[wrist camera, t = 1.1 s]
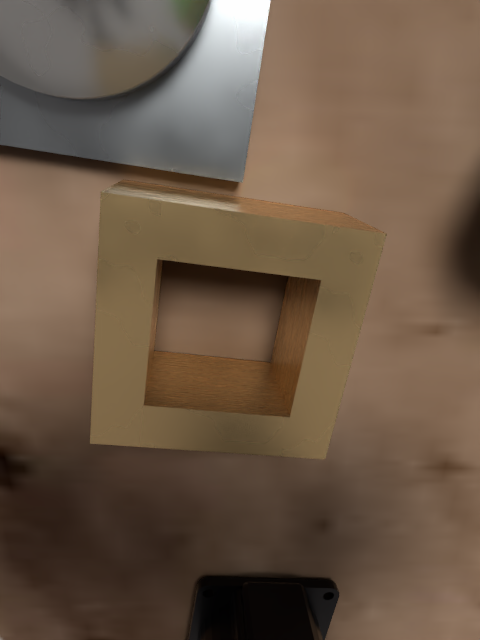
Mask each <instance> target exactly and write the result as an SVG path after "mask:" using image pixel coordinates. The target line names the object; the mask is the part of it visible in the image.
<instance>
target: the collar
mask: <svg viewBox="0 0 480 640" xmlns="http://www.w3.org/2000/svg"><path fill="white" fill-rule="evenodd" d="M386 235H387V234H386V233H384V232H382V231H380V230H378V229H376V228H374V227H372V226H370V225H368V224H365V223H363V222H361V221H359V220H357V219H355V218H353V217H351V216H349V215H347V214H345V213H341V212H334V211H328V210H321V209H314V208H308V207H301V206H295V205H288V204H281V203H275V202H268V201H262V200H255V199H249V198H242V197H235V196H229V195H222V194H216V193H209V192H202V191H196V190H189V189H183V188H176V187H169V186H163V185H156V184H150V183H143V182H137V181H130V180H122V181H120V182H118V183H116V184H114V185H112V186H111V187H109V188H107V189H105V190H103V191H102V192H101V200H100V223H99V246H98V269H97V292H96V315H95V338H94V361H93V385H92V408H91V431H90V444H104V445H119V446H133V447H148V448H163V449H178V450H193V451H207V452H222V453H237V454H252V455H266V456H281V457H296V458H311V459H325V458H326V454H327V450H328V447H329V443H330V439H331V436H332V432H333V428H334V425H335V421H336V417H337V414H338V410H339V406H340V403H341V399H342V396H343V392H344V388H345V385H346V381H347V377H348V374H349V370H350V366H351V363H352V359H353V355H354V352H355V348H356V344H357V341H358V337H359V333H360V330H361V326H362V323H363V319H364V315H365V312H366V308H367V304H368V301H369V297H370V293H371V290H372V286H373V282H374V279H375V275H376V271H377V268H378V264H379V260H380V257H381V253H382V250H383V246H384V242H385V239H386ZM163 260H168V261H176V262H184V263H192V264H199V265H207V266H215V267H223V268H231V269H238V270H246V271H254V272H262V273H270V274H277V275H285V276H288V280H287V285H286V290H285V295H284V300H283V305H282V310H281V314H280V319H279V324H278V329H277V334H276V339H275V344H274V349H273V354H272V359H271V362H262V361H252V360H242V359H232V358H222V357H211V356H201V355H191V354H181V353H171V352H161V351H154V347H155V337H156V327H157V316H158V306H159V296H160V285H161V275H162V265H163Z"/></svg>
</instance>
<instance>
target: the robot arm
mask: <svg viewBox="0 0 480 640" xmlns="http://www.w3.org/2000/svg"><path fill="white" fill-rule="evenodd" d="M338 598H339V591H338V588H337V585H336V583H335V582H333V581H330V580H303V579H266V578H229V577H205V578H203V579H201V580H200V581H199V582H198V583H197V587H196V593H195V599H194V605H193V611H192V617H191V623H190V628H189V634H188V640H325V637H326V634H327V631H328V628H329V625H330V622H331V619H332V616H333V613H334V610H335V607H336V604H337V601H338Z"/></svg>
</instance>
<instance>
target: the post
mask: <svg viewBox="0 0 480 640" xmlns="http://www.w3.org/2000/svg"><path fill="white" fill-rule="evenodd" d="M269 6H270V0H0V145H6V146H12V147H19V148H25V149H31V150H38V151H44V152H50V153H57V154H63V155H70V156H76V157H82V158H89V159H95V160H101V161H108V162H114V163H121V164H127V165H133V166H140V167H146V168H153V169H159V170H165V171H172V172H178V173H184V174H191V175H197V176H204V177H210V178H216V179H223V180H229V181H235V182H242V183H243V177H244V171H245V164H246V157H247V151H248V144H249V138H250V131H251V125H252V118H253V111H254V105H255V98H256V92H257V85H258V79H259V72H260V65H261V59H262V52H263V46H264V39H265V33H266V26H267V19H268V13H269Z"/></svg>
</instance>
